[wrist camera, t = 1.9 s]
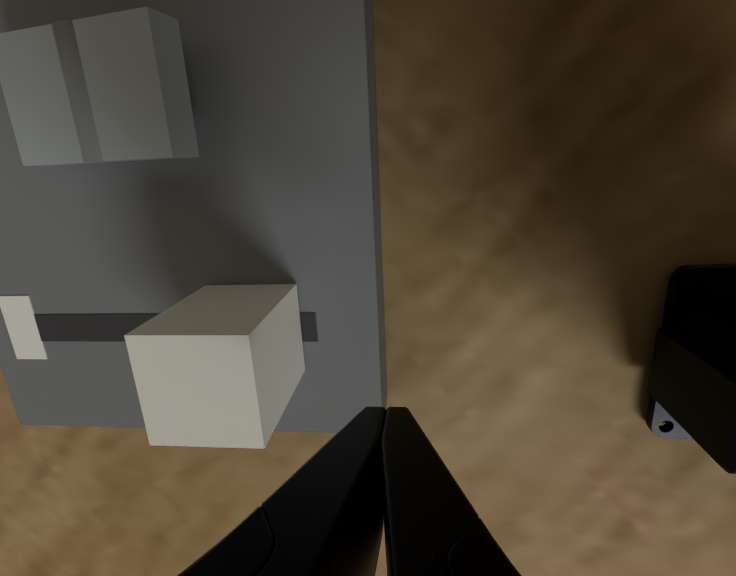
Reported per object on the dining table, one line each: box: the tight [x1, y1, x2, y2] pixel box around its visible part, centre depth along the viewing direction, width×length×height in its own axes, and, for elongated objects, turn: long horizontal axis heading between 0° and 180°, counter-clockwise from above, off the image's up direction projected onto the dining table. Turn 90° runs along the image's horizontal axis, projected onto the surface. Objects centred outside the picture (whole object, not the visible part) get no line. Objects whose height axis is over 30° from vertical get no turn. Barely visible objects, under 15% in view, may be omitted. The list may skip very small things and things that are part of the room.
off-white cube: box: [124, 284, 305, 449], centre depth 12 cm, size 3×3×4 cm
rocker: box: [0, 7, 199, 166], centre depth 11 cm, size 5×3×1 cm, turn 93°
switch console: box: [0, 0, 387, 433], centre depth 13 cm, size 14×22×3 cm, turn 3°
